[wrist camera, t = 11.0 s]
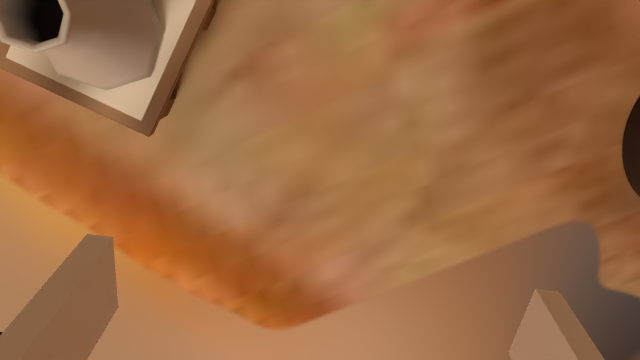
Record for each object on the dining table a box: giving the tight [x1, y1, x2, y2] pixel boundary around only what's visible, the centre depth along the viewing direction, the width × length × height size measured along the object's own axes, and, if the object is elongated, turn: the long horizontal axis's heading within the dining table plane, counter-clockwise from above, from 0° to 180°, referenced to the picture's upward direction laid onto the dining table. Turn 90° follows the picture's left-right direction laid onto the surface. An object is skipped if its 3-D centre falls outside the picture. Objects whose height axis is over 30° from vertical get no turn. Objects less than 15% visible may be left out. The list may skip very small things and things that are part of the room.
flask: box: [0, 0, 164, 91], centre depth 24 cm, size 7×7×10 cm
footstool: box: [0, 0, 215, 137], centre depth 33 cm, size 10×10×9 cm
